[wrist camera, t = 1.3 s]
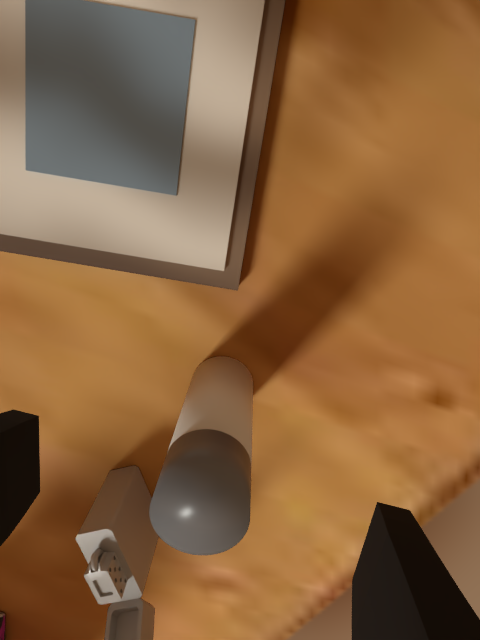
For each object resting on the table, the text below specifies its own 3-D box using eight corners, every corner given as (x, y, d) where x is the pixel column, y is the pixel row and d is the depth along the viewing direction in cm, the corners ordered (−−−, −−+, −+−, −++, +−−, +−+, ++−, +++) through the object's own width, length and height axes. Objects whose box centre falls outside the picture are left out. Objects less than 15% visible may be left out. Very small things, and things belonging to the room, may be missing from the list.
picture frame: (238, 286, 19) (236, 297, 17) (-117, 227, 19) (-159, 232, 17) (291, -35, 15) (295, -65, 13) (-153, -113, 15) (-212, -155, 13)
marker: (247, 416, 21) (241, 562, 13) (188, 406, 21) (145, 546, 13) (258, 361, 20) (257, 482, 12) (195, 351, 20) (154, 466, 12)
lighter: (106, 471, 23) (30, 619, 15) (137, 464, 22) (75, 611, 15) (152, 571, 25) (105, 745, 17) (180, 565, 24) (145, 739, 17)
